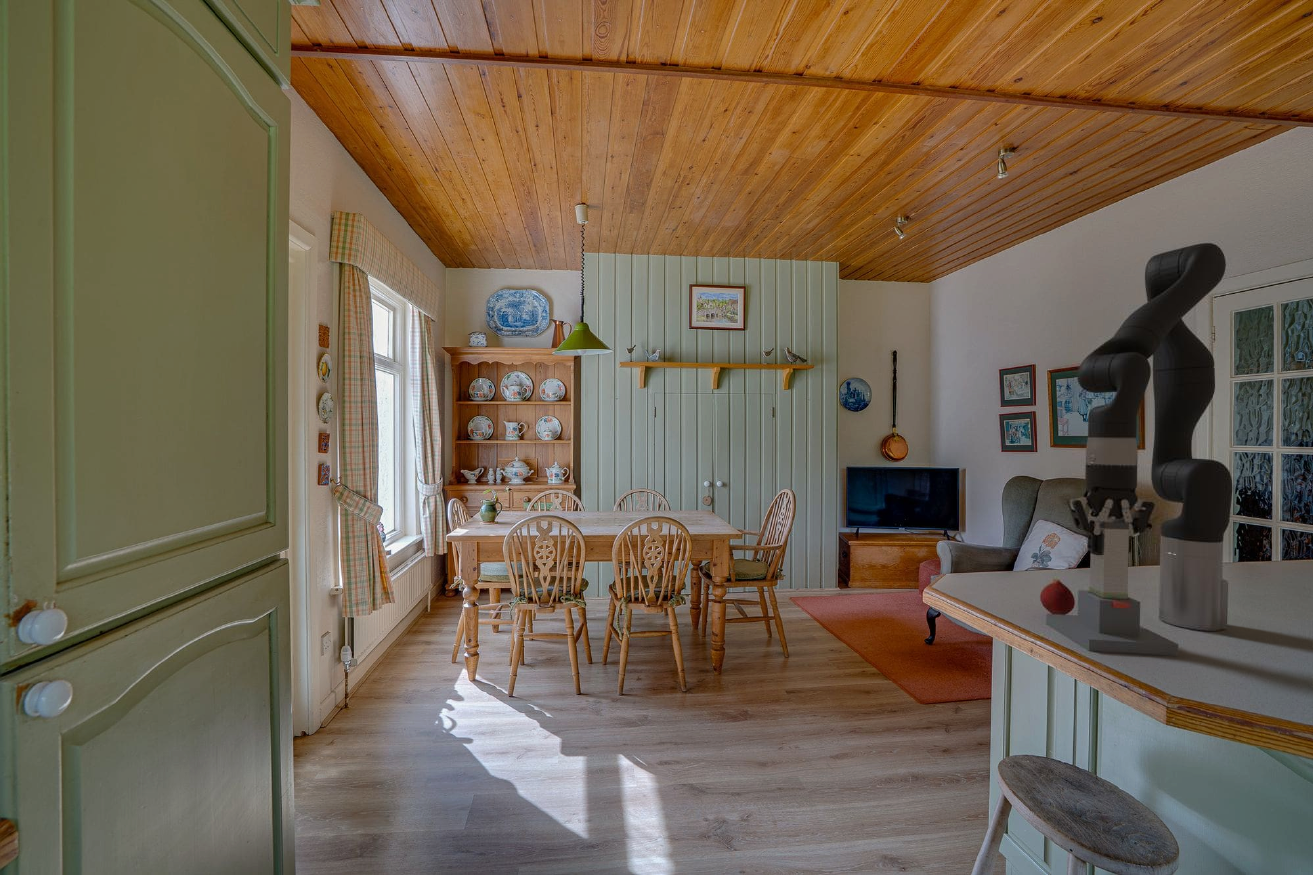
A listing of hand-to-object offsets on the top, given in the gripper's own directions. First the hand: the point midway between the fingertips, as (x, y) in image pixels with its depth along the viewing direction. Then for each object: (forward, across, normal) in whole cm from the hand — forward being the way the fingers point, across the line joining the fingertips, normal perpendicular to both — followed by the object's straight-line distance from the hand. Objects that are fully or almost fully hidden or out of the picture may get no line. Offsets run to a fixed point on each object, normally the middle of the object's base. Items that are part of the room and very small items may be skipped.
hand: (1108, 554), depth 106 cm
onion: (+16, +2, -12) cm, 20 cm away
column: (+8, 0, 0) cm, 8 cm away
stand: (+16, 0, 0) cm, 16 cm away
